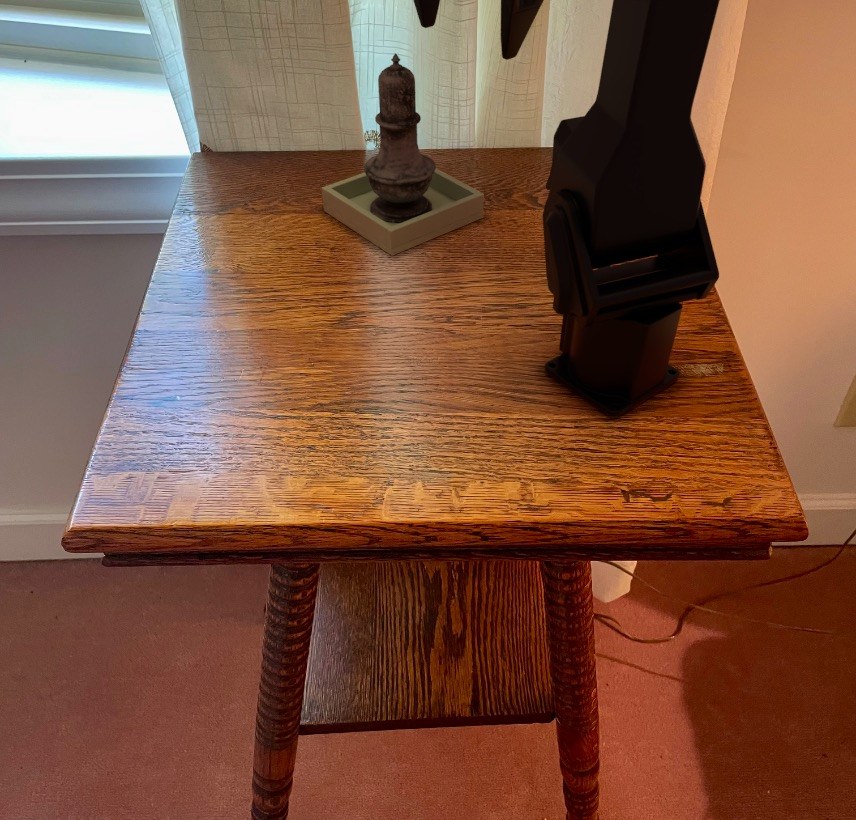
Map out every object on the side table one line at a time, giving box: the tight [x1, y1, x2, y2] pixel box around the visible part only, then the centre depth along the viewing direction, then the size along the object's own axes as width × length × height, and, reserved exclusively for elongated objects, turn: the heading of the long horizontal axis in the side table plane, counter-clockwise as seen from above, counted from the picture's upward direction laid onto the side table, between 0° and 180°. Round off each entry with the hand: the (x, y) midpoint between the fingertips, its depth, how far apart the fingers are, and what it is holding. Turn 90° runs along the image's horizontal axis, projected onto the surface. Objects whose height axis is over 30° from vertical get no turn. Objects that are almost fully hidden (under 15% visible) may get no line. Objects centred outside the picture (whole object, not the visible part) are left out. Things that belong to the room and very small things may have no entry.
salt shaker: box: [363, 53, 437, 223], centre depth 65 cm, size 6×6×12 cm
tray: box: [321, 168, 485, 256], centre depth 69 cm, size 10×10×2 cm
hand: (466, 41), depth 61 cm, fingers open, 9 cm apart
